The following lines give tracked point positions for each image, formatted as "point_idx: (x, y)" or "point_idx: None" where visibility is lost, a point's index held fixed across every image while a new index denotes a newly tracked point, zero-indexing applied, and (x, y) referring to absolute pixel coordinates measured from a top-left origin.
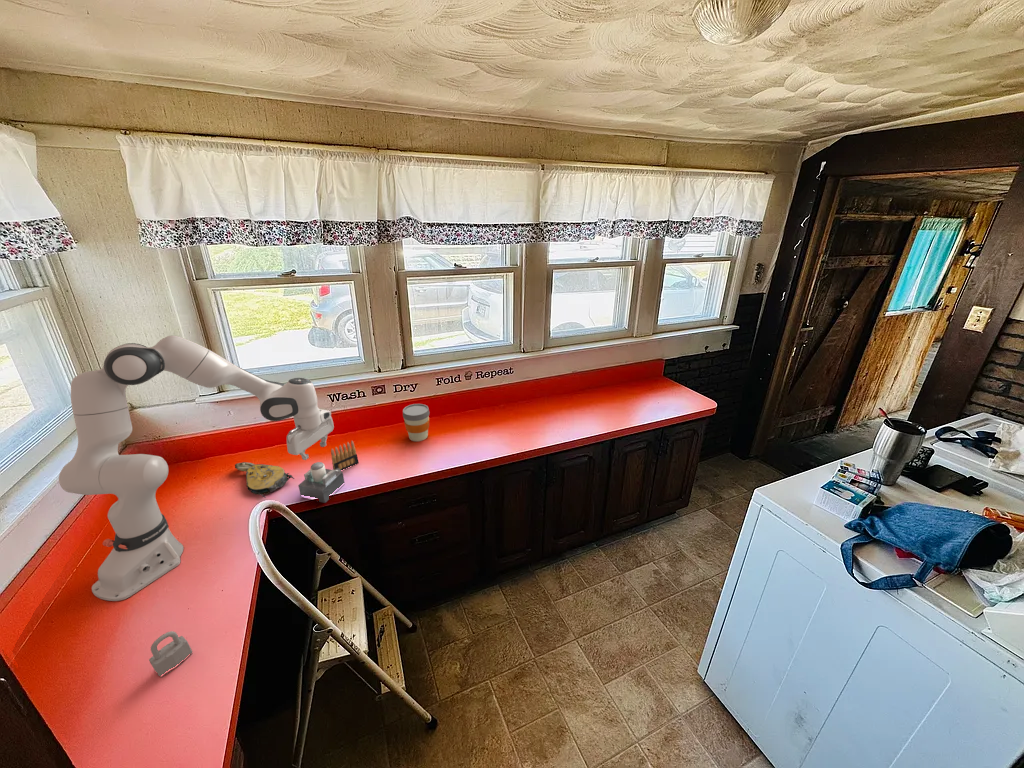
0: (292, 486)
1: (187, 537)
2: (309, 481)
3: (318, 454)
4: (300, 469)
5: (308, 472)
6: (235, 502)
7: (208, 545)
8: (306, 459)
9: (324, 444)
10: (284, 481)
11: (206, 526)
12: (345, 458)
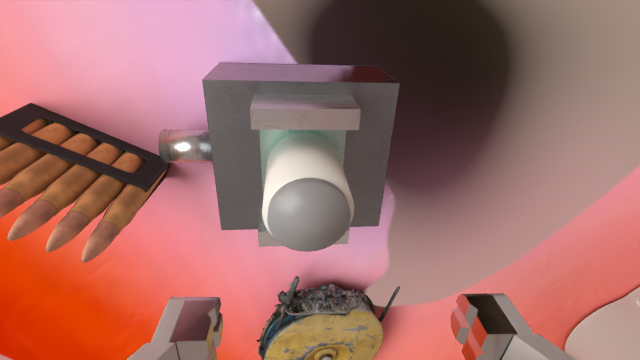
0: (310, 258)
1: (550, 331)
2: None
3: (100, 305)
4: None
5: None
6: (416, 336)
7: (587, 274)
8: (499, 294)
9: (196, 318)
10: (319, 293)
11: None
12: (67, 163)
